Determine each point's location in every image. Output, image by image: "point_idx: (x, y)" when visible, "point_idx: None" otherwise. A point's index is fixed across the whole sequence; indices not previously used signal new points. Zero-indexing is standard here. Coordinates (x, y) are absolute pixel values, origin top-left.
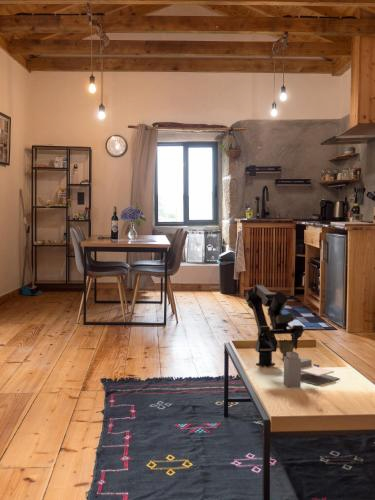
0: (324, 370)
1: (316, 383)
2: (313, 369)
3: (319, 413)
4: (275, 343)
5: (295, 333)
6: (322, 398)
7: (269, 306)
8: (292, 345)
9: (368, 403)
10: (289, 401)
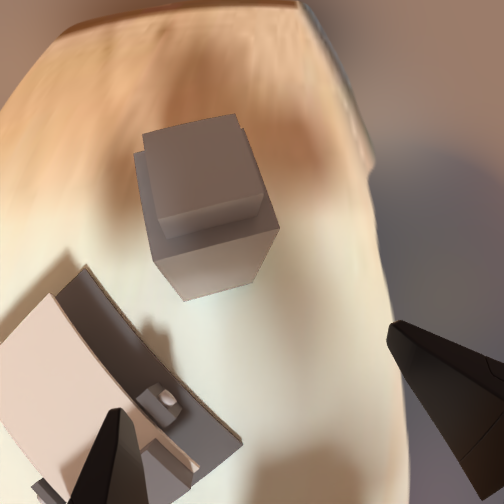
0: (8, 394)
1: (78, 288)
2: (58, 421)
3: (174, 17)
4: None
5: None
6: (117, 105)
7: None
8: None
9: (11, 99)
10: (244, 70)
